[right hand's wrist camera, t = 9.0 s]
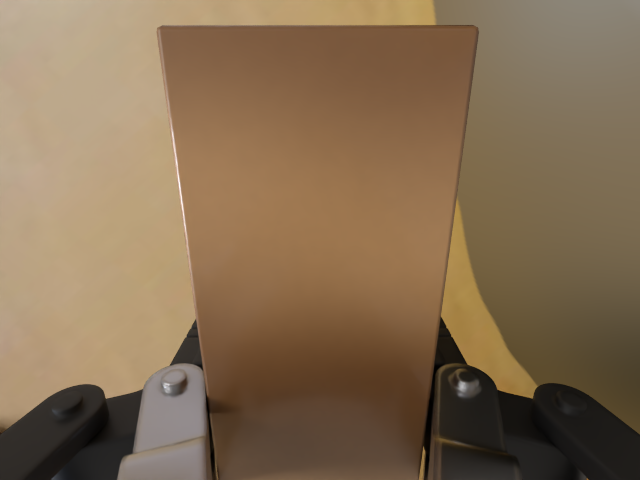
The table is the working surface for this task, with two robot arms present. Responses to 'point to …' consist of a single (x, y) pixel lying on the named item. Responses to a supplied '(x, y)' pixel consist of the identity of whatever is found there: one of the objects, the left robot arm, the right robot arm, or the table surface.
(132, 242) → the table surface
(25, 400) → the table surface
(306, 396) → the bar
